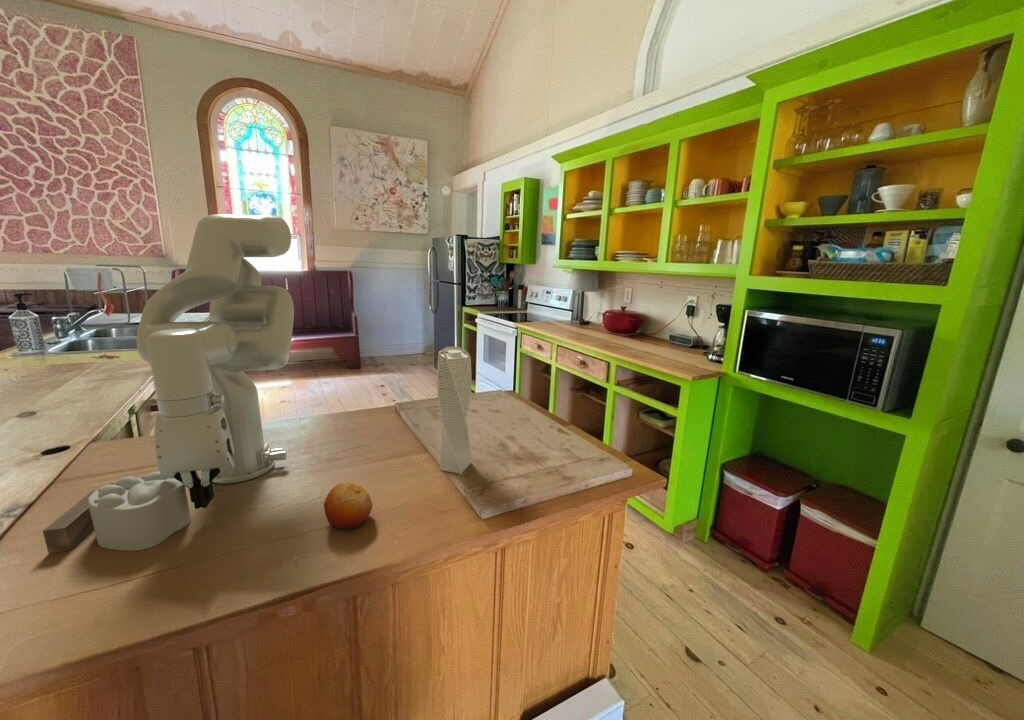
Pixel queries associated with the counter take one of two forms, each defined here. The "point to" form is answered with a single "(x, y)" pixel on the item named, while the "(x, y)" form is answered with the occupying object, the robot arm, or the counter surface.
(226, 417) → the robot arm
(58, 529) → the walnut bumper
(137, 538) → the lumpy-topped squat cylinder
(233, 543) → the counter surface
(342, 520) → the fruit
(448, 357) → the skyscraper
